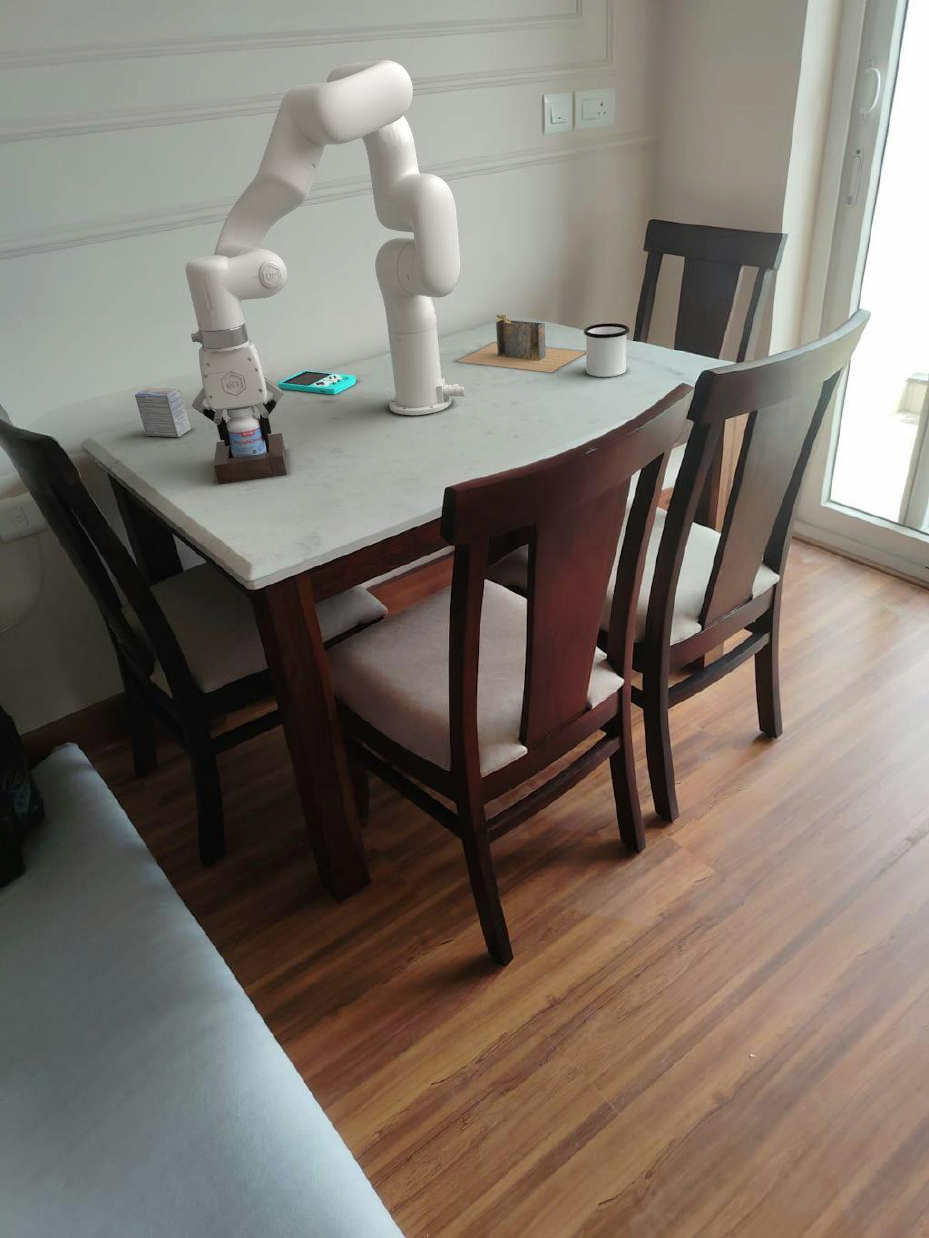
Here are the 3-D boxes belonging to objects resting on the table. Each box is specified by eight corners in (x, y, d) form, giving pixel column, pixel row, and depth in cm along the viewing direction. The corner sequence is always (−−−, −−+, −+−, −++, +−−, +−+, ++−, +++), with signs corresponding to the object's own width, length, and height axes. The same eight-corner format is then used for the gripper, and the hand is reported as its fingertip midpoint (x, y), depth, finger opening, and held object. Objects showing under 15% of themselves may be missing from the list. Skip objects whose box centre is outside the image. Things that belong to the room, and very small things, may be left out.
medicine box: (191, 430, 177) (181, 388, 173) (178, 438, 174) (167, 395, 169) (158, 428, 180) (147, 386, 175) (145, 436, 176) (133, 394, 172)
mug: (616, 380, 183) (617, 336, 178) (576, 376, 188) (575, 332, 183) (640, 364, 191) (642, 321, 187) (601, 360, 196) (601, 318, 191)
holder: (285, 450, 163) (281, 432, 161) (286, 474, 153) (282, 455, 152) (220, 460, 162) (216, 441, 160) (218, 484, 152) (213, 465, 150)
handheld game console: (333, 395, 190) (332, 388, 189) (276, 388, 197) (275, 382, 196) (360, 381, 197) (360, 375, 196) (304, 375, 204) (303, 369, 204)
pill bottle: (240, 476, 154) (226, 414, 148) (231, 466, 159) (217, 405, 153) (274, 468, 156) (261, 406, 150) (264, 457, 161) (251, 397, 155)
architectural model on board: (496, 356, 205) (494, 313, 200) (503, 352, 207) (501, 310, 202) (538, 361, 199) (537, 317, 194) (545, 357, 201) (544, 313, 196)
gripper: (169, 349, 141) (195, 455, 151) (277, 336, 143) (297, 441, 153) (173, 338, 148) (198, 440, 157) (276, 325, 150) (295, 427, 159)
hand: (246, 440), depth 155 cm, fingers closed on pill bottle, 6 cm apart
